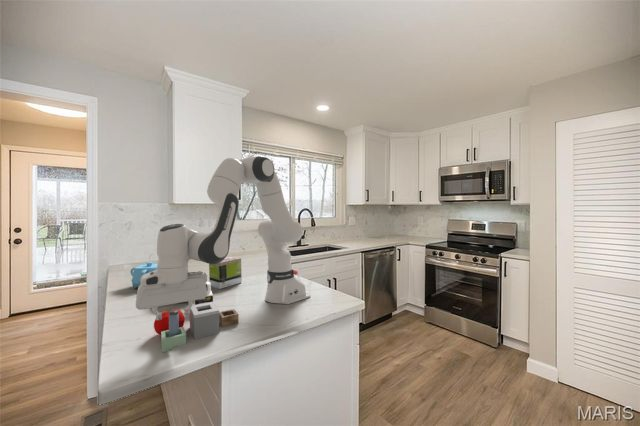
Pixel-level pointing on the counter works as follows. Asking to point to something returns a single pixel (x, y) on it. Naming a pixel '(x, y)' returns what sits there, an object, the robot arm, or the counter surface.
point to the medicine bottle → (208, 298)
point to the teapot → (141, 272)
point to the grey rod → (173, 323)
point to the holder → (228, 318)
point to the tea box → (225, 273)
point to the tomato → (167, 322)
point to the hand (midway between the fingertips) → (173, 316)
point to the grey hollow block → (204, 320)
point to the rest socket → (172, 339)
